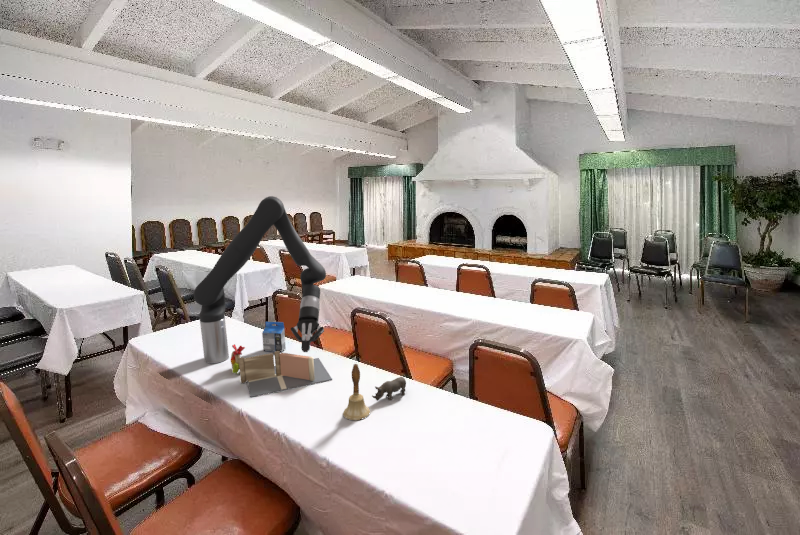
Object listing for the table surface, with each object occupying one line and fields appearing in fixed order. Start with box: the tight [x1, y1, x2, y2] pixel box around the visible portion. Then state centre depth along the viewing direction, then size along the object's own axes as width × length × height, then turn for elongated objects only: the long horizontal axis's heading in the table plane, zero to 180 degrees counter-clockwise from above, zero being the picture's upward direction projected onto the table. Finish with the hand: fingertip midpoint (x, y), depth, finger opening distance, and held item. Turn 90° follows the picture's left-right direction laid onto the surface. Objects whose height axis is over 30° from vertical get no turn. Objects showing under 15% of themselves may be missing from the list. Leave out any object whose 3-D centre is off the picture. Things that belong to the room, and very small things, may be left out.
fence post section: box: [239, 351, 281, 384], centre depth 147 cm, size 2×14×9 cm, turn 115°
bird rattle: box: [230, 344, 246, 375], centre depth 154 cm, size 6×11×9 cm
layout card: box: [247, 357, 333, 398], centre depth 150 cm, size 21×28×1 cm
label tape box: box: [261, 321, 287, 353], centre depth 174 cm, size 9×4×12 cm, turn 80°
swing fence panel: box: [279, 352, 315, 381], centre depth 146 cm, size 2×14×8 cm, turn 70°
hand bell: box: [342, 363, 371, 421], centre depth 123 cm, size 8×8×16 cm
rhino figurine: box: [371, 376, 407, 401], centre depth 133 cm, size 4×14×6 cm, turn 125°
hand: (305, 351), depth 149 cm, fingers closed
